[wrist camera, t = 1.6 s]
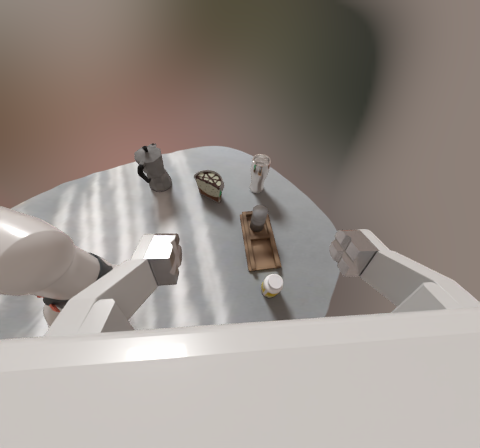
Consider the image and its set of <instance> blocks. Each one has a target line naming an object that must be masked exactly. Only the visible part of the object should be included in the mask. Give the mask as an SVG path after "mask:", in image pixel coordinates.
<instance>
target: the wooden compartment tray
mask: <svg viewBox="0 0 480 448" xmlns="http://www.w3.org/2000/svg"><path fill="white" fill-rule="evenodd" d="M240 220H241V226H242V233H243V239H244V245H245V251H246V257H247V264H248V270H249V271H257V270H265V269H273V268H281V263H280V259H279V255H278V251H277V247H276V243H275V239H274V235H273V231H272V227H271V224H270V220H269V216H268V209H267V208H266V207H265V206H263V205H257V206H255V207H254V208H253V211H248V212H242V215H240Z"/></svg>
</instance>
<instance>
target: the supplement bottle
mask: <svg viewBox="0 0 480 448" xmlns="http://www.w3.org/2000/svg"><path fill="white" fill-rule="evenodd" d="M282 288H283V280H282V278H281V276H279V275H277V274H271V275H268V276H267V277H266V278H265V280H264V281H263V283H262V285H261V292H262V294H263V295H264V296H265V297H268V298H272V297H274V296H276V295H277V294H278V293H279V292H280V291H281V290H282Z"/></svg>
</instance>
